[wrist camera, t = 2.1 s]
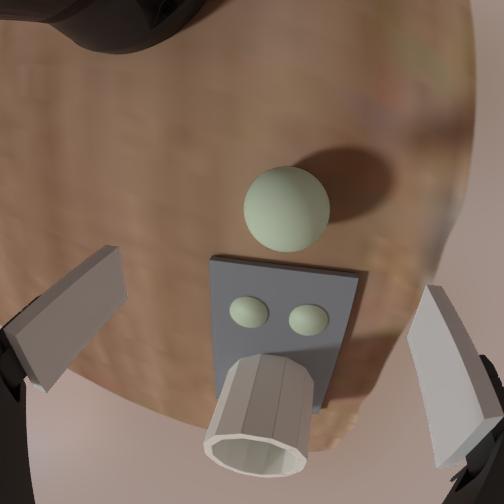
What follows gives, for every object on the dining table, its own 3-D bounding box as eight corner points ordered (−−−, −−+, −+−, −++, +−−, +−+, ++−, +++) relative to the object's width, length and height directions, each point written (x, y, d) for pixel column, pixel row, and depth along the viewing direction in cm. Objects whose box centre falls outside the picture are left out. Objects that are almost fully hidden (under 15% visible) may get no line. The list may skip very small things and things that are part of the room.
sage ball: (254, 157, 23) (235, 171, 18) (331, 164, 22) (337, 181, 17) (251, 228, 26) (234, 261, 20) (323, 236, 25) (324, 272, 20)
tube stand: (211, 256, 28) (160, 332, 18) (357, 273, 26) (374, 363, 16) (218, 394, 36) (193, 463, 27) (318, 409, 34) (312, 483, 25)
